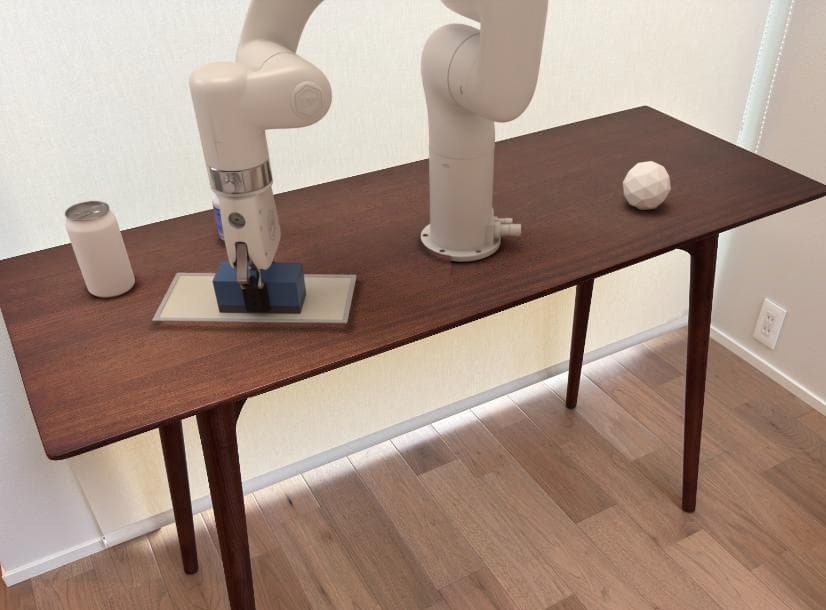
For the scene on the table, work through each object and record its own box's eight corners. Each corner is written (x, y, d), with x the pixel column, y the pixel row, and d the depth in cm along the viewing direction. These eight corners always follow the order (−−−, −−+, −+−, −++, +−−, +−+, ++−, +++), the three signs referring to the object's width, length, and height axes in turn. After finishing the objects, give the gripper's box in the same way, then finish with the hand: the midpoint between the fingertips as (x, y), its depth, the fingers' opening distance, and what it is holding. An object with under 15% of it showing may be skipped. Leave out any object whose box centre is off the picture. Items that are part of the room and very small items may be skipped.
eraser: (306, 293, 109) (302, 262, 106) (300, 314, 106) (296, 282, 102) (228, 292, 109) (221, 261, 106) (219, 312, 106) (212, 281, 102)
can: (144, 286, 113) (121, 209, 105) (103, 304, 109) (76, 226, 101) (120, 270, 116) (97, 194, 108) (79, 287, 112) (52, 210, 104)
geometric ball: (644, 227, 133) (646, 205, 126) (613, 196, 136) (613, 172, 128) (678, 198, 133) (682, 174, 126) (646, 168, 136) (648, 142, 128)
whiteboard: (357, 282, 114) (356, 274, 113) (347, 330, 105) (347, 322, 104) (178, 280, 114) (176, 272, 113) (154, 328, 105) (151, 320, 104)
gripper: (256, 205, 89) (278, 336, 101) (283, 145, 102) (300, 266, 114) (190, 204, 89) (220, 335, 101) (225, 144, 102) (249, 266, 114)
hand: (262, 297), depth 107 cm, fingers closed on eraser, 5 cm apart
